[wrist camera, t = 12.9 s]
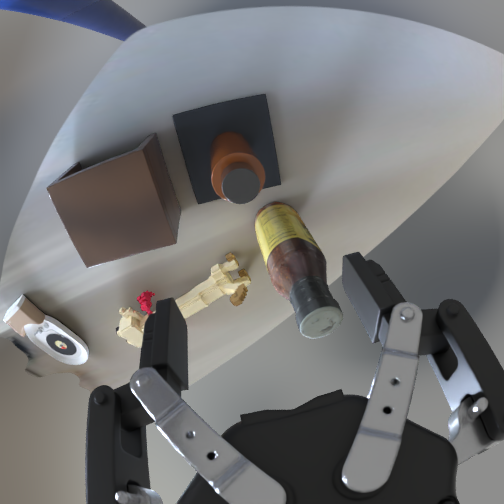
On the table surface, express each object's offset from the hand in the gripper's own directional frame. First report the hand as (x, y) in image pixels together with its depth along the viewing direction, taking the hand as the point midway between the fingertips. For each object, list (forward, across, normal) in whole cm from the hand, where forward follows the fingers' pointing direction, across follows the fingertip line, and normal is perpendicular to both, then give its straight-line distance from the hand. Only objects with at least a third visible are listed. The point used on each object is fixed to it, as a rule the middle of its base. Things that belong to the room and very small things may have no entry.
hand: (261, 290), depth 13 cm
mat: (+25, -1, 0) cm, 25 cm away
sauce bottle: (+25, -5, +11) cm, 28 cm away
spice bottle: (+25, -1, 0) cm, 25 cm away
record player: (+25, +44, +24) cm, 56 cm away
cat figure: (+25, +13, +21) cm, 36 cm away
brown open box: (+25, +13, +1) cm, 28 cm away
